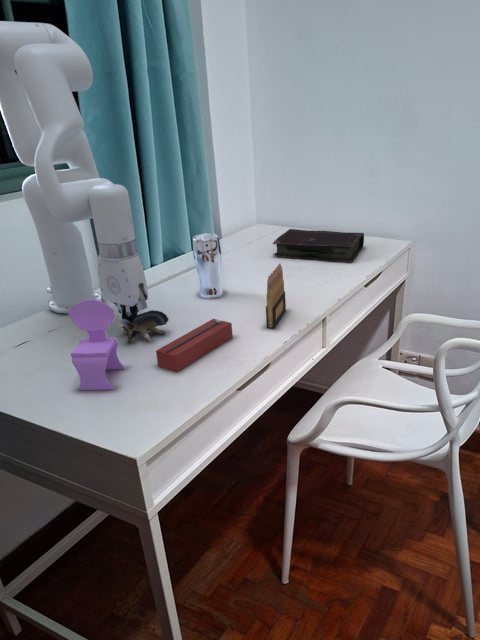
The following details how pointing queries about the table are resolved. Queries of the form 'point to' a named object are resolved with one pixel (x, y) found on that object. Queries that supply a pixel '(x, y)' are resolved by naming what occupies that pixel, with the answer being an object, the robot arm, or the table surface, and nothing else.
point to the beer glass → (208, 264)
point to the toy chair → (94, 344)
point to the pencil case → (194, 345)
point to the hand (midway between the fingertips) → (132, 329)
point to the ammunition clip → (275, 298)
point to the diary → (319, 245)
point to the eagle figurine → (144, 324)
